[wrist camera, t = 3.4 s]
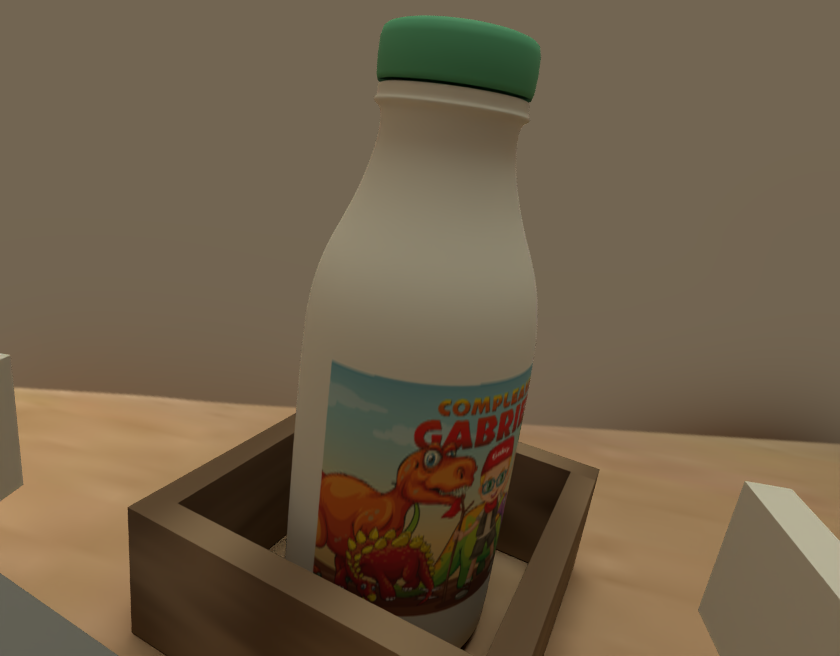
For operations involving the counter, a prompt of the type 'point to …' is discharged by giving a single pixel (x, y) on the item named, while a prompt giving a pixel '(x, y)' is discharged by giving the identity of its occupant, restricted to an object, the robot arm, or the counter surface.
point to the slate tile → (39, 628)
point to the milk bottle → (421, 335)
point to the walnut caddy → (309, 593)
